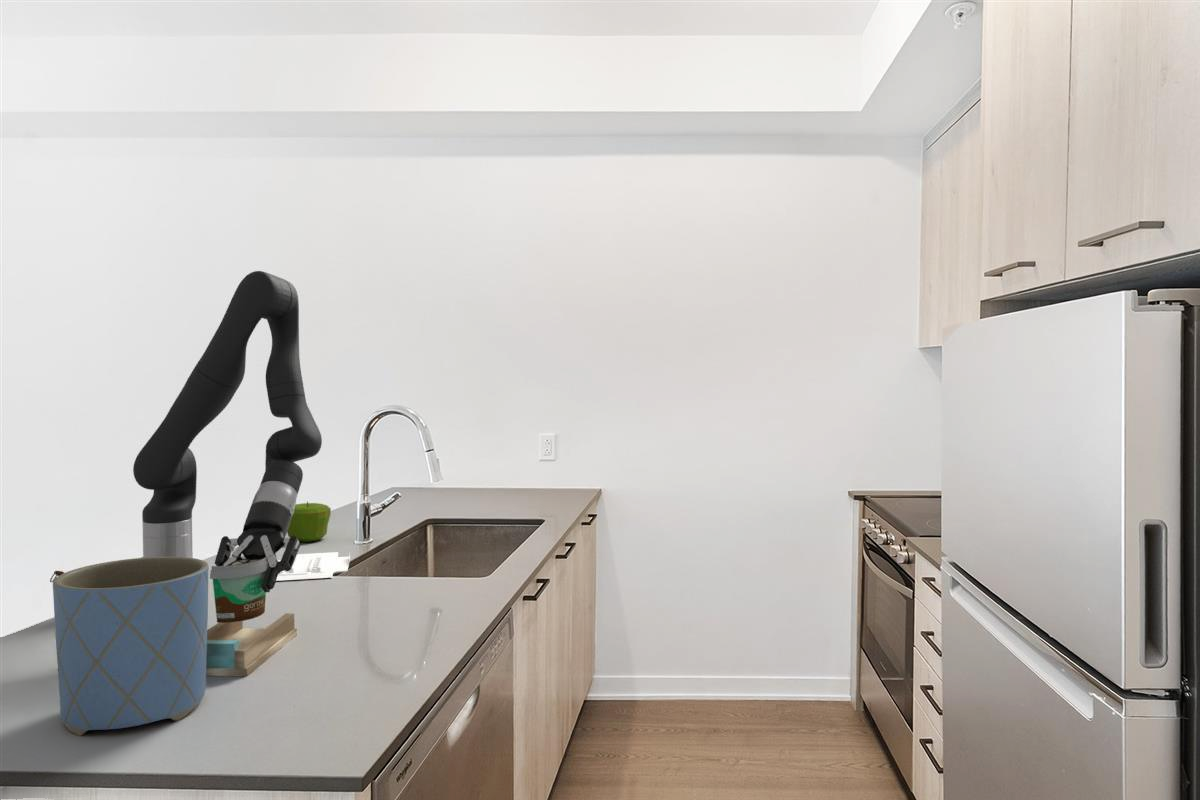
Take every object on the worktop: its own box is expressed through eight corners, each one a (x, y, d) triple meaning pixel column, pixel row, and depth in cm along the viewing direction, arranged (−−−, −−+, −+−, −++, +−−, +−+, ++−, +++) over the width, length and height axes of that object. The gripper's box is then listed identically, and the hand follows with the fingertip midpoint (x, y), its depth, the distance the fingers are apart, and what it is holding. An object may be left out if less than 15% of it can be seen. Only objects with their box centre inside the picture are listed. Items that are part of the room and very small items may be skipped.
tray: (253, 586, 183) (253, 570, 183) (270, 563, 210) (270, 549, 210) (347, 580, 188) (347, 564, 188) (351, 558, 215) (351, 545, 215)
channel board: (172, 675, 127) (171, 643, 127) (231, 634, 147) (231, 606, 147) (247, 676, 127) (246, 643, 127) (296, 635, 147) (296, 607, 146)
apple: (275, 543, 226) (275, 504, 226) (299, 535, 238) (298, 497, 238) (316, 545, 224) (316, 505, 224) (338, 536, 236) (337, 498, 236)
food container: (243, 627, 134) (241, 568, 133) (211, 625, 135) (209, 566, 134) (286, 605, 146) (285, 551, 145) (256, 603, 147) (255, 550, 146)
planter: (40, 751, 101) (36, 595, 101) (71, 696, 119) (68, 563, 118) (206, 725, 109) (204, 580, 108) (213, 677, 126) (211, 551, 126)
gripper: (226, 499, 147) (195, 579, 136) (303, 499, 147) (278, 578, 136) (240, 522, 153) (211, 601, 141) (315, 522, 152) (292, 600, 141)
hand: (244, 590), depth 138 cm, fingers closed on food container, 6 cm apart
